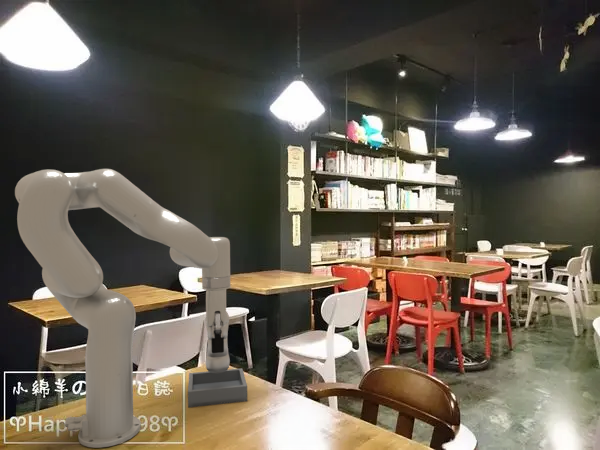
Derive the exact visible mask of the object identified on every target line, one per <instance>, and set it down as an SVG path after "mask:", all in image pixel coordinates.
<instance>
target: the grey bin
mask: <svg viewBox="0 0 600 450" xmlns="http://www.w3.org/2000/svg"><path fill="white" fill-rule="evenodd" d="M243 402H248V383H247V380H246V376H245V372H244V369H243V368H231V369H229V368H228V369H227V371H225V372H222V373H210V372H209V371H208V370H207V371H199V372H197V371H196V372H189V373H188V386H187V408H197V407H198V408H199V407H205V406H206V407H207V406H215V405H223V404H224V405H225V404H235V403H243Z"/></svg>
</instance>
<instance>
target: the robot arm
mask: <svg viewBox="0 0 600 450" xmlns="http://www.w3.org/2000/svg"><path fill="white" fill-rule="evenodd" d="M14 196H15V199H16V201H17V203H18V208H17V216H16V217H17V218H16V220H17V222H16V223H17V229H18V233H19V236H20V239H21V241H22V242H23V244H24V245H25V247H26V248H27V250H28V251H29V252H30V253H31V255H32V256H33V257H34V259H35V260H36V262H37V263H38V264H39V265H40V267H41V268H42V269H41V275H42V276H41V277H42V281H43V284H44V285H45V287H46V288H47V289H48V291H49V292H50V293H51V295H53V296H54V298H55V300H57V302H59V304H60V305H61V306H62V307H63V308H64V309H65V310H66V312H67V313H68V314H69V315H70V316H71V318H72V319H73V320H75V322H77V323H78V325H81V326H82V327H84V328H86V329H87V331H88V333H87V334H88V335H87V341H86V348H85V354H84V355H85V358H84V359H85V362H84V364H85V365H84V366H85V414H82V415H81V416H72V417H66V418H65V421H64V427H65V428H67V431H68V432H70V431H71V432H72V431H76V430H79V432H78V442H79V444H81V445H82V446H83V447H87V448H92V449H93V448H95V449H97V448H98V449H100V448H101V449H103V448H109V447H112V446H116V445H120V444H122V443H125V442H126V441H129V440H130V439H132V438H134V437H135V436H136V435H137V434H138V433H139V432H140V430H141V428H142V427H141V424H142V423H141V420H140V419H139V418H138V417H137V416H135V415H134V374H133V372H134V371H133V370H134V369H133V368H134V367H133V365H134V364H133V341H134V333H135V327H136V326H135V325H136V319H137V318H136V317H137V316H136V309H135V305H134V304H133V302H132V300H131V299H130V298H128V297H127V296H126V295H125V294H123V293H120V292H117V291H114V290H111V289H107V287H106V286H105V285H104V284H103V281H104V272H103V270H102V267H101V266H100V264H99V262H98V261H97V260H96V259H95V258H94V256H92V254H91V253H90V252H89V251H88V249H87V247H86V246H85V245H84V244H83V243H82V242H81V240H80V239H79V237H78V235H76V233H75V232H74V230H73V228H72V227H71V224H70V222H69V216H68V214H69V211H72V210H73V211H75V210H83V209H92V208H100V209H102V210H103V211H104V212H106V213H107V214H109V215H110V216H112V217H113V218H114V219H116V220H117V221H118V222H120V223H121V224H122V225H124V226H125V227H127V228H129V230H131V232H133V233H135V234H137V235H138V236H141V237H143V238H145V239H148V240H151V241H155V242H158V243H160V244H163V245H165V246H168V247H170V248H169V256H170V258H171V260H172V261H173V262H174V263H175V264H177V265H178V266H182V267H188V268H196V269H201V281H202V282H201V285H202V287H201V289H202V290H205V291H206V292H205V318H206V321H205V326H206V325H207V327H208V328H209V326H212V338H211V344H212V353H222V352H224V337H223V326H225V321H226V312H227V290H228V289H231V244H230V243H231V242H230V239H229V238H228V237H225V236H212V237H211V236H208V235H207V234H206V233H204V232H203V231H202V230H201V229H200V228H198V227H197V226H196V225H195V224H193V223H191V222H189V221H187V220H186V219H184V218H182V217H180V216H179V215H177V214H175V213H174V212H172V211H170V210H169V209H166V208H164V207H163V206H161V205H160V204H159V203H158V202H156V201H155V200H153V199H152V198H151V197H150V196H149V195H147V194H146V193H145V192H144V191H142V190H141V189H140V188H139V187H138V186H136V185H135V184H134V183H132V182H131V181H130V180H129V179H127V177H125V176H124V175H123V174H121V173H120V172H119V171H116V170H114V169H111V168H99V169H95V170H91V171H83V172H65V173H64V172H62V171H60V170H58V169H57V170H56V169H41V170H38V171H35V172H31V173H29V174H27V175H24V176H23V177H21V178H20V180H19V181H18V182H17V183H16V186H15V188H14ZM221 320H222V322H221ZM220 322H221V326H220ZM214 323H215V326H214ZM215 328H216V330H214V329H215ZM220 328H221V329H220Z"/></svg>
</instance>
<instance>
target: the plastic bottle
mask: <svg viewBox="0 0 600 450" xmlns="http://www.w3.org/2000/svg"><path fill="white" fill-rule="evenodd" d="M204 322H206V317H205V321H204ZM221 322H222V320H221ZM221 322H220V326H221ZM229 323H230V316H229V314H228V312H227V311H226V321H225V326H223V337H224V352H222V353H212V344H211V338H212V326H209V328H208V327H207V325H206V324H205V327H206V337H207V347H206V348H207V350H206V357H205V368H206V370H207V371H209V372H210V373H222V372H225V371H227V370H229V368H230V362H231V360H230V354H229V348H228V347H229V346H228V334H229V333H228V331H229ZM214 326H215V323H214ZM220 329H221V328H220ZM214 330H216V328H215V329H214Z"/></svg>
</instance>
